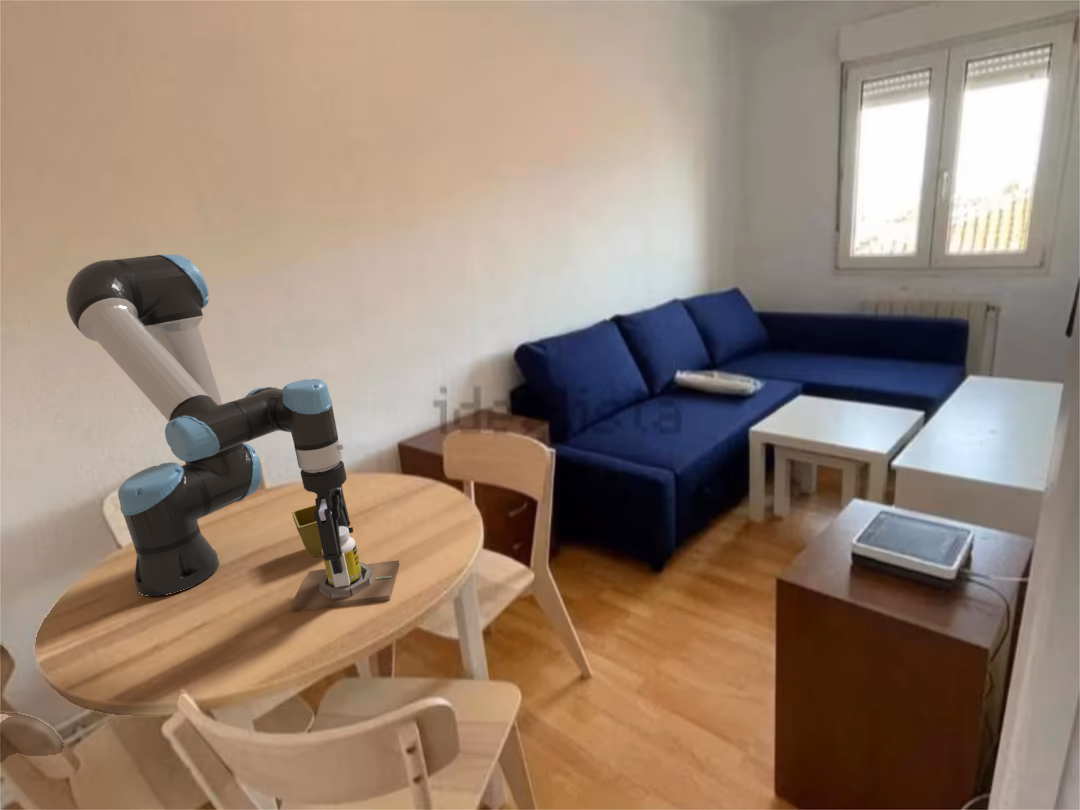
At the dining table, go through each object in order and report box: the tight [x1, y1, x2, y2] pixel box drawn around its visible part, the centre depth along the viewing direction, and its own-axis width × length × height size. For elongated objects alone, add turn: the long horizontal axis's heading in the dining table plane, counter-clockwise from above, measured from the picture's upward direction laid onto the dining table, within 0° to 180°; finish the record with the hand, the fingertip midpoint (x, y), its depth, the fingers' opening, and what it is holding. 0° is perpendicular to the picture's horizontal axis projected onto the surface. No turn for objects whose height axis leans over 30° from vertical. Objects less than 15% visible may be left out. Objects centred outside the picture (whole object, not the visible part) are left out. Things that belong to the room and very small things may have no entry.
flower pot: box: [291, 504, 323, 558], centre depth 129 cm, size 9×9×9 cm
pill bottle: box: [322, 526, 362, 589], centre depth 113 cm, size 6×6×11 cm
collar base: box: [290, 559, 400, 613], centre depth 115 cm, size 18×12×2 cm, turn 94°
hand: (345, 574), depth 114 cm, fingers closed on pill bottle, 6 cm apart
